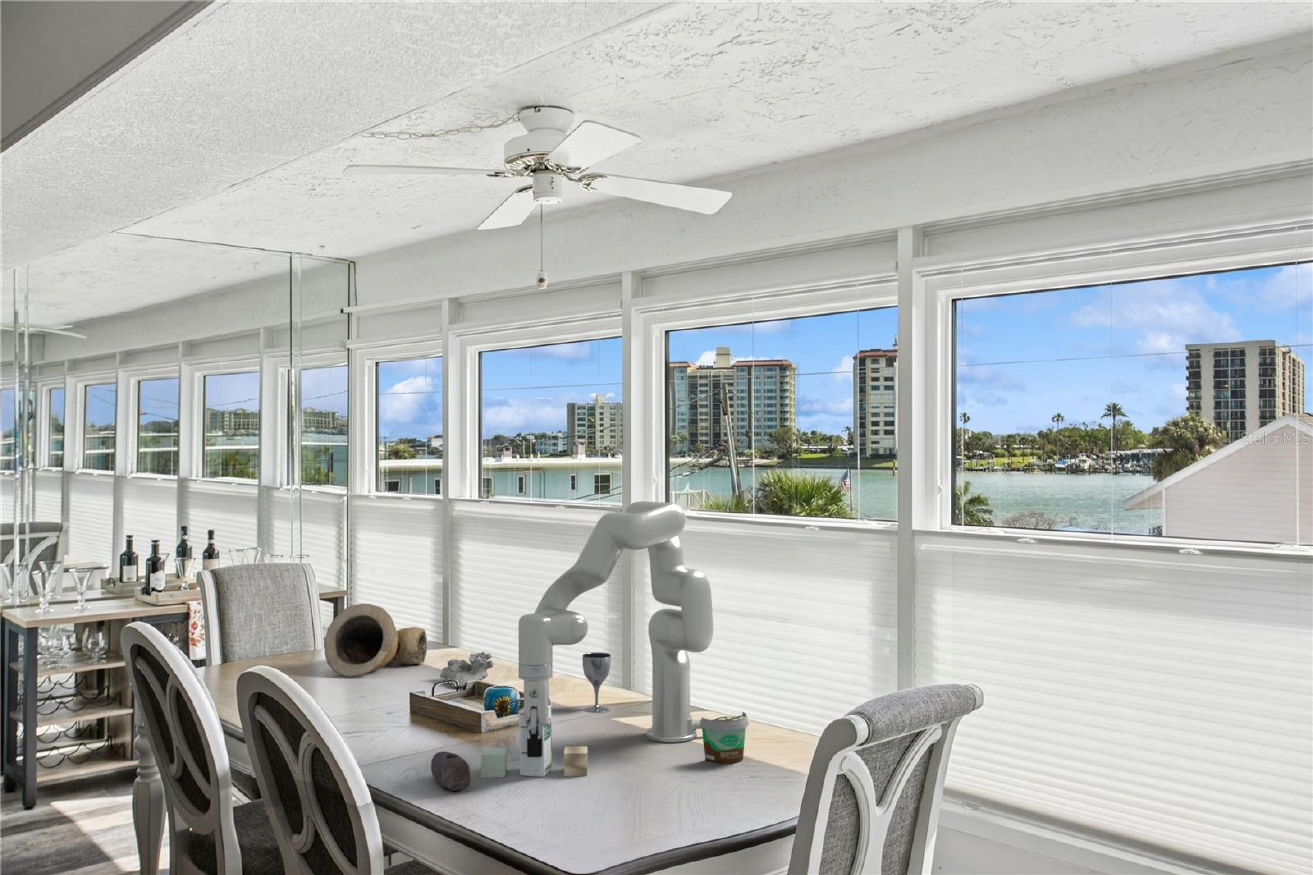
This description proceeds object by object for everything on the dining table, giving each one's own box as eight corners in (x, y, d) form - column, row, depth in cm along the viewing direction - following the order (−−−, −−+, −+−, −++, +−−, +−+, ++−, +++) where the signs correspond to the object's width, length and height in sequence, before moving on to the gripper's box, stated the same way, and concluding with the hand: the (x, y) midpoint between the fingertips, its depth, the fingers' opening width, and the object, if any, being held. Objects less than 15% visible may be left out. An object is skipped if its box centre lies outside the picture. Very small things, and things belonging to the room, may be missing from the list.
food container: (713, 769, 216) (713, 724, 216) (699, 761, 221) (699, 717, 222) (759, 761, 222) (759, 717, 222) (744, 754, 227) (744, 711, 227)
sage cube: (506, 770, 215) (506, 747, 215) (504, 777, 210) (504, 754, 210) (484, 770, 215) (484, 748, 215) (481, 777, 210) (481, 754, 210)
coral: (498, 685, 298) (499, 652, 298) (460, 692, 289) (460, 658, 289) (470, 675, 310) (470, 644, 311) (432, 682, 301) (432, 650, 302)
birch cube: (587, 768, 216) (587, 746, 216) (586, 776, 211) (586, 753, 211) (565, 769, 216) (565, 746, 216) (564, 776, 211) (564, 753, 211)
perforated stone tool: (423, 777, 210) (423, 745, 210) (446, 773, 213) (446, 741, 213) (448, 797, 198) (449, 763, 198) (473, 793, 200) (473, 759, 201)
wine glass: (577, 711, 266) (577, 656, 266) (590, 704, 273) (590, 651, 273) (603, 714, 263) (603, 658, 263) (615, 707, 270) (615, 653, 270)
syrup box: (544, 777, 210) (544, 710, 210) (518, 775, 211) (518, 709, 211) (552, 769, 216) (552, 703, 216) (527, 767, 217) (527, 702, 217)
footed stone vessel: (426, 687, 333) (411, 675, 305) (341, 687, 331) (317, 675, 303) (431, 619, 341) (416, 601, 313) (348, 619, 340) (325, 602, 312)
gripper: (550, 679, 205) (550, 763, 205) (554, 662, 223) (554, 739, 222) (514, 679, 205) (515, 764, 205) (522, 662, 222) (522, 740, 222)
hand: (535, 750), depth 213 cm, fingers closed on syrup box, 6 cm apart
